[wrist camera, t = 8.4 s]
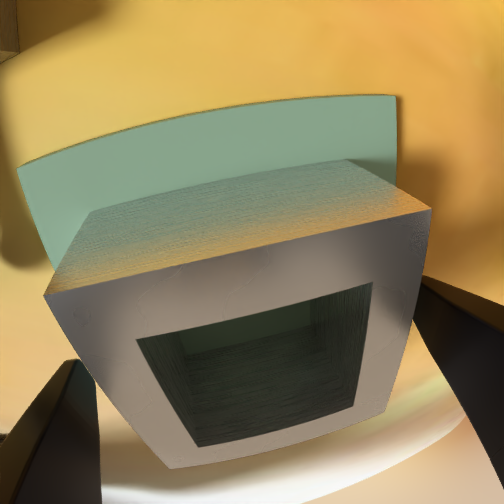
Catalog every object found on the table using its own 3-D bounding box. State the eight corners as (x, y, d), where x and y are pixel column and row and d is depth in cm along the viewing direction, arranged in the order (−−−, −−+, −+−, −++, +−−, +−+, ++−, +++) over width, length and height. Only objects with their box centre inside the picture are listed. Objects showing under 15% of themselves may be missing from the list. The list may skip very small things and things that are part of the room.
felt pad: (368, 345, 13) (374, 355, 12) (139, 401, 12) (138, 413, 11) (383, 94, 8) (395, 95, 7) (25, 163, 7) (16, 168, 6)
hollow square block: (344, 158, 8) (432, 208, 5) (340, 339, 11) (383, 412, 8) (89, 211, 7) (43, 295, 4) (164, 382, 11) (169, 469, 8)
